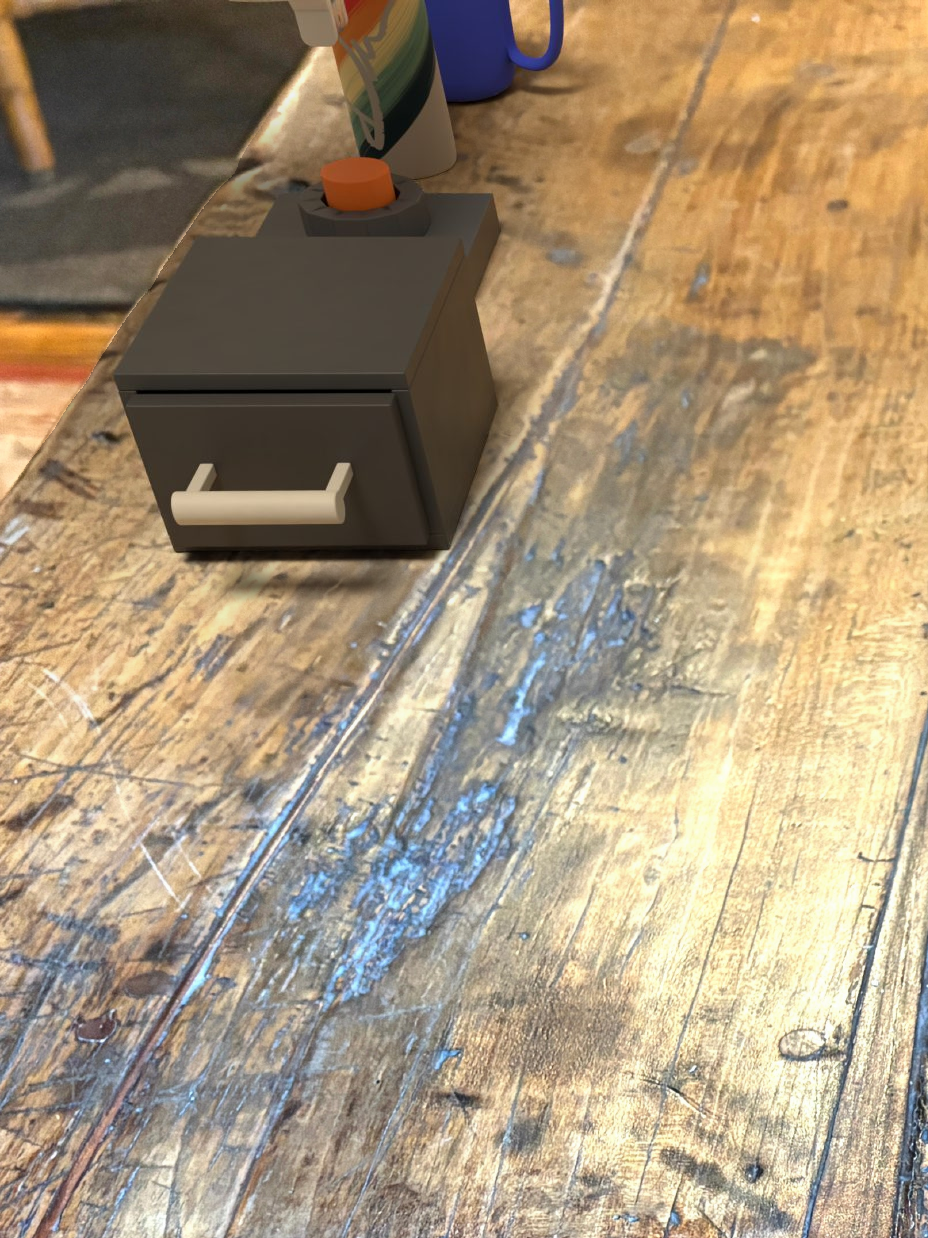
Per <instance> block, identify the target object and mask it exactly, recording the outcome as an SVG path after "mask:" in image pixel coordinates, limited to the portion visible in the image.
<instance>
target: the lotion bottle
mask: <svg viewBox="0 0 928 1238" xmlns="http://www.w3.org/2000/svg"><path fill="white" fill-rule="evenodd" d="M344 4H345V8H346V13H347V17H348V23H347V25H346V27H345V28H344V30H343V31H342V33H341V34H340V36H339V38H338V40H337V42H336V43H335V45H334V46H331V48H332V52H333V57H334V60H335V64H336V68H337V72H338V77H339V81H340V84H341V85H340V86H341V88H342V89H341V90H342V92H343V97H344V99H345V105H346V109H347V112H348V117H349V120H350V125H351V129H352V133H353V136H354V139H355V145H356V148H357V151H358V155H359V157H366V158H374V159H378V160H381V161H383V162H385V163H386V164H387V165H388V167H389V171H390V173H392V174H396V175H400V176H404V177H408V178H412V179H413V180H421V179H425V178H429V177H433V176H437V175H440V174H443V173H444V172H447V171H448V170H450V169H451V168H452V167H453V166H454V165H455V163H456V161H457V159H458V158H457V147H456V142H455V141H456V140H455V136H454V131H453V127H452V122H451V118H450V113H449V108H448V103H447V101H446V98H445V94H444V89H443V85H442V80H441V75H440V71H439V66H438V62H437V57H436V52H435V48H434V43H433V39H432V34H431V29H430V25H429V20H428V16H427V11H426V6H425V2H424V0H344Z"/></svg>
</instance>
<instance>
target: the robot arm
mask: <svg viewBox="0 0 928 1238" xmlns="http://www.w3.org/2000/svg"><path fill="white" fill-rule="evenodd" d="M228 1H229V2H239V3H240V2H241V3H272V2H274V3H275V2H277V3H278V2H280V3H281V2H288V4H289V6H290V7H291V9H292V11H293V12H294V16H295V20H296V23H297V26H298V27H297V28H298V30H299V35H300V38H301V40H302V41H303V43H304V44H305V45H307V46H309V47H311V48H313V47H314V48H319V47H320V48H327V47H328V48H330V47H331V48H332V46H334V45H335V43H336V42H337V40H338V38H339V36H340V34H341V33H342V31H343V30H344V28H345V27H346V25H347V23H348V17H347V13H346V8H345V4H344V0H228Z"/></svg>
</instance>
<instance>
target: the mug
mask: <svg viewBox="0 0 928 1238" xmlns="http://www.w3.org/2000/svg"><path fill="white" fill-rule="evenodd" d="M424 2H425V6H426V11H427V16H428V20H429V25H430V29H431V34H432V39H433V43H434V48H435V52H436V57H437V62H438V66H439V71H440V75H441V80H442V85H443V89H444V94H445V98H446V102H450V103H451V102H452V103H464V102H475V101H480V100H485V99H488V98H489V99H490V98H492V97H494V96H497V95H499V94H502V93H503V92H504V91H506V90H507V89H508V88H509V87H510V86H511V84H512V83H513V81H514V78H515V72H516V66H517V67H518V68H520V69H523V70H524V71H529V72H543V71H546V70H548V69H549V68H551V67H552V66H553V65H554V64H555V63H556V62H557V60H558V59H559V57H560V55H561V52H562V48H563V45H564V44H563V43H564V36H565V35H564V32H565V12H564V11H565V9H564V0H548V6H549V7H548V8H549V40H548V46H547V49H546V51H545V53H544V54H543V55H542V56H539V57H532V56H529V55H527V54H526V55H525V54H524V53H523V52H521V50H520V49H519V47H518V45H517V41H516V38H515V33H514V27H513V20H512V19H513V18H512V12H511V5H510V0H424Z"/></svg>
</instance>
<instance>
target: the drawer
mask: <svg viewBox="0 0 928 1238" xmlns="http://www.w3.org/2000/svg"><path fill="white" fill-rule="evenodd" d="M391 390H392V389H379V390H161V393H162V394H133V395H132V396H131V398H130V400H129V402H128V403H127V405H126V409H127V412H128V415H129V418H130V421H131V423H132V426H133V429H134V432H135V435H136V438H137V441H138V444H139V446H140V449H141V452H142V455H143V458H144V461H145V464H146V467H147V469H148V472H149V475H150V478H151V481H152V484H153V487H154V490H155V492H156V495H157V498H158V501H159V504H160V507H161V510H162V513H163V515H164V518H165V521H166V524H167V527H168V530H169V533H170V536H171V538H172V541H173V544H174V546H175V547H236V546H354V545H426V544H427V541H428V538H429V536H430V533H431V531H430V527H429V523H428V519H427V515H426V512H425V508H424V504H423V500H422V496H421V492H420V488H419V484H418V480H417V476H416V472H415V468H414V464H413V460H412V457H411V453H410V449H409V445H408V441H407V437H406V433H405V429H404V425H403V421H402V417H401V413H400V409H399V406H398V402H397V398H396V394H395V393H392V392H391Z"/></svg>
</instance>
